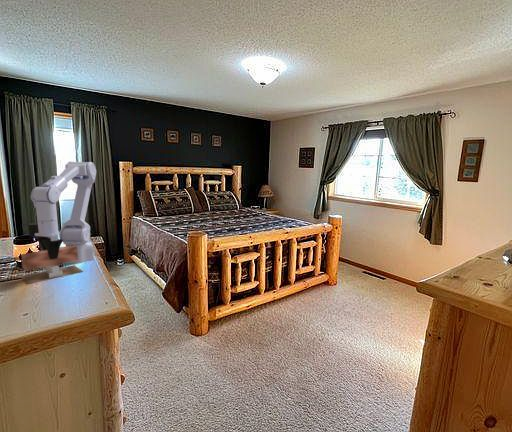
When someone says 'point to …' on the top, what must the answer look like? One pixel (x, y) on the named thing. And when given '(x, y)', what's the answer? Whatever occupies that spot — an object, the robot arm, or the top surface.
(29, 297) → the top surface
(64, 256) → the reddish brown wooden block
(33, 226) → the deodorant
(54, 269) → the ridge
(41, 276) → the base board
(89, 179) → the robot arm
